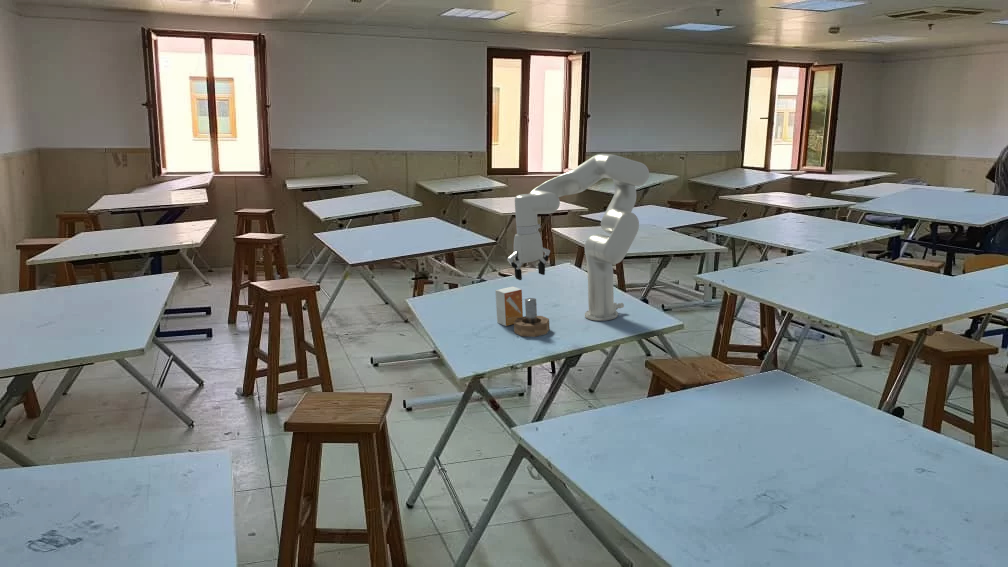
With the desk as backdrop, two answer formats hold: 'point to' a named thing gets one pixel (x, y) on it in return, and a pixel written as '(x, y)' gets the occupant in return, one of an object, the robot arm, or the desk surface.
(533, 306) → the peg
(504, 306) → the small box
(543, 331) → the brown octagonal ring
